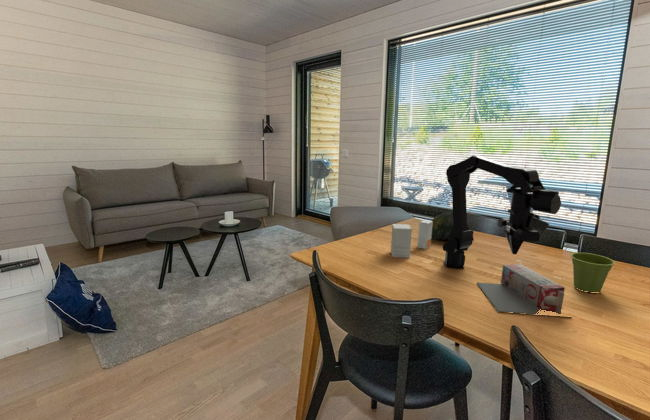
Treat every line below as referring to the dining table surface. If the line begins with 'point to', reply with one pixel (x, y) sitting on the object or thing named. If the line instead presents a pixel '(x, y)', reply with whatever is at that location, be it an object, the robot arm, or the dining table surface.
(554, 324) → the dining table surface
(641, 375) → the dining table surface
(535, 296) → the juice carton
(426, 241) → the skincare box
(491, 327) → the dining table surface
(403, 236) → the supplement box
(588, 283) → the plant pot
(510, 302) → the mat
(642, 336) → the dining table surface
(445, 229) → the squash
